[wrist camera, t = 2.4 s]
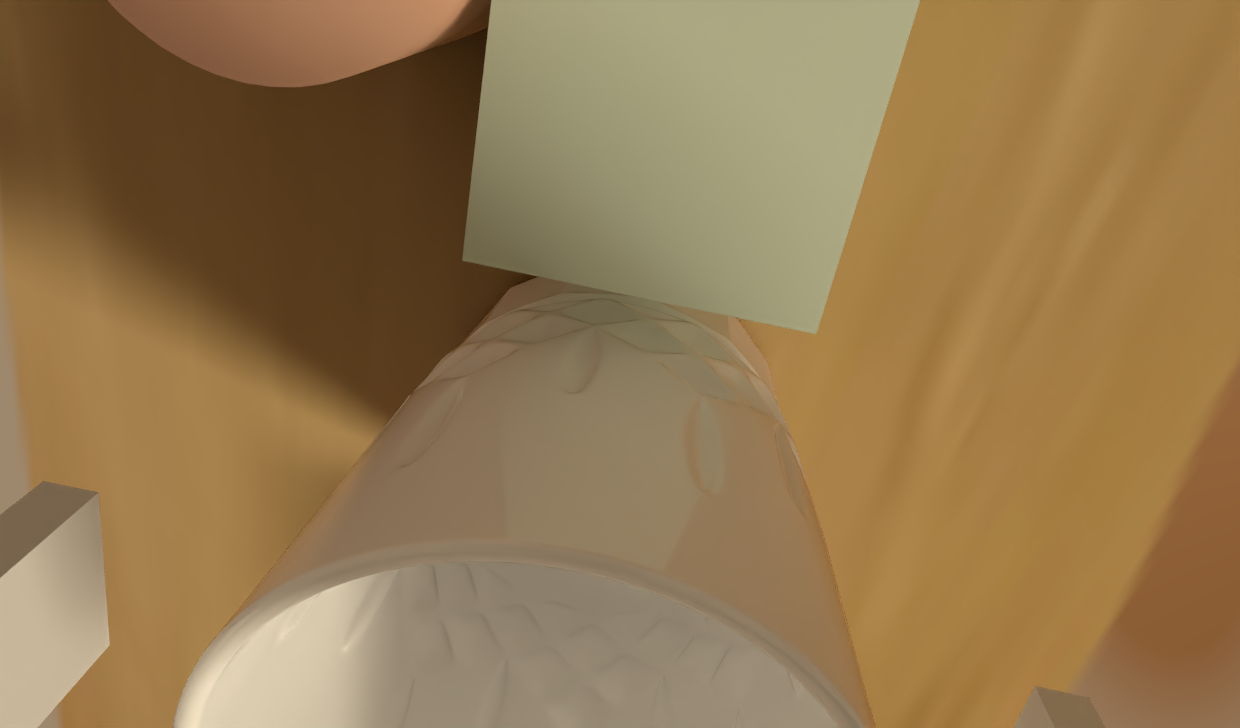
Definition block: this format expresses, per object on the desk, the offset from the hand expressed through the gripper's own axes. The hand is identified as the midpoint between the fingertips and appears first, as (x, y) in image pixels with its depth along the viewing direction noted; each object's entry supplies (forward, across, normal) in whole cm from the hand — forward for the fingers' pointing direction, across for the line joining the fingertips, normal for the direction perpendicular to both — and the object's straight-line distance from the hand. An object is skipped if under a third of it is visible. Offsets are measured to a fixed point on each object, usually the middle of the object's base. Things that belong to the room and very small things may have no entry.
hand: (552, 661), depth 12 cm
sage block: (+7, 0, +8) cm, 10 cm away
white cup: (+7, 0, 0) cm, 7 cm away
